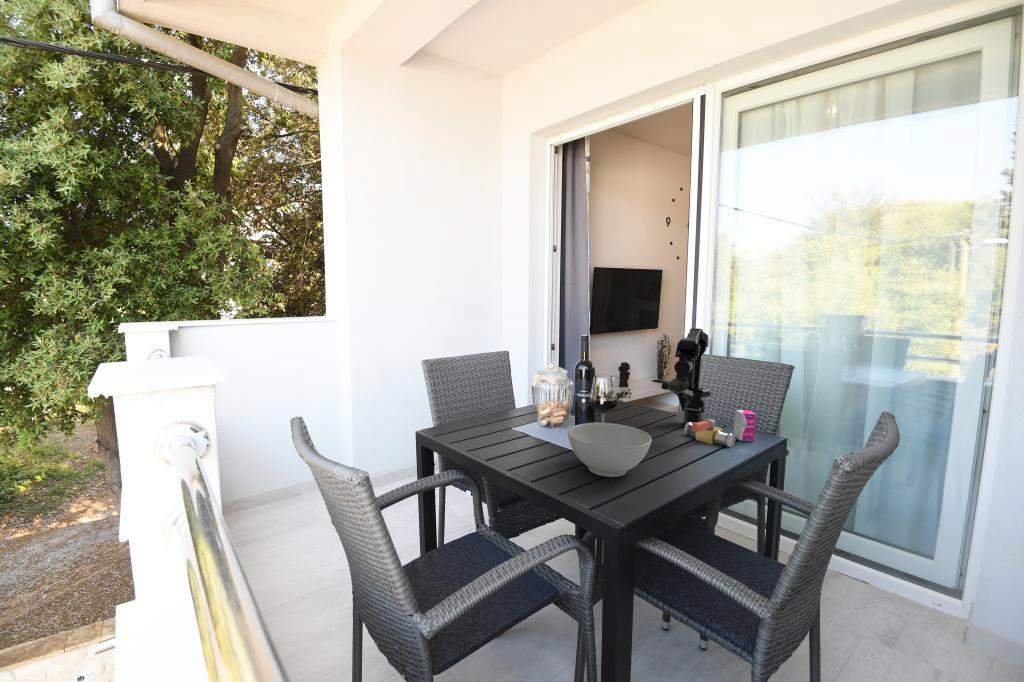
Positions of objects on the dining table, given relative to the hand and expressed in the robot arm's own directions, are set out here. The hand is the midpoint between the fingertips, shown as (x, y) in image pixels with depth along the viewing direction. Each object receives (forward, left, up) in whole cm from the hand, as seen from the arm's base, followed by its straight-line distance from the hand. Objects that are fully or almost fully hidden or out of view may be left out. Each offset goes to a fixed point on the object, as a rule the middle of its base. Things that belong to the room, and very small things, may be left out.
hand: (683, 410), depth 193 cm
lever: (+7, +4, -7) cm, 10 cm away
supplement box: (+13, +22, -12) cm, 29 cm away
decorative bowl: (+7, -50, -12) cm, 51 cm away
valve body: (+7, +8, -12) cm, 16 cm away
